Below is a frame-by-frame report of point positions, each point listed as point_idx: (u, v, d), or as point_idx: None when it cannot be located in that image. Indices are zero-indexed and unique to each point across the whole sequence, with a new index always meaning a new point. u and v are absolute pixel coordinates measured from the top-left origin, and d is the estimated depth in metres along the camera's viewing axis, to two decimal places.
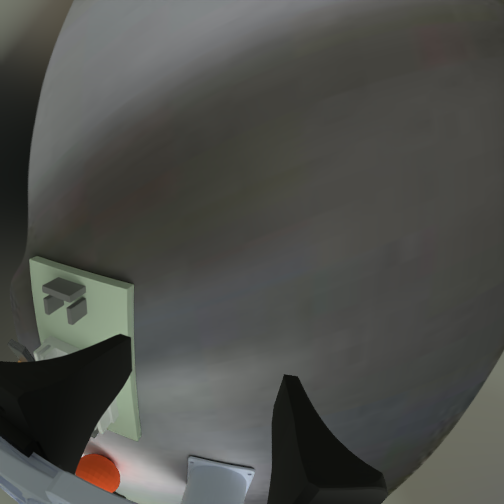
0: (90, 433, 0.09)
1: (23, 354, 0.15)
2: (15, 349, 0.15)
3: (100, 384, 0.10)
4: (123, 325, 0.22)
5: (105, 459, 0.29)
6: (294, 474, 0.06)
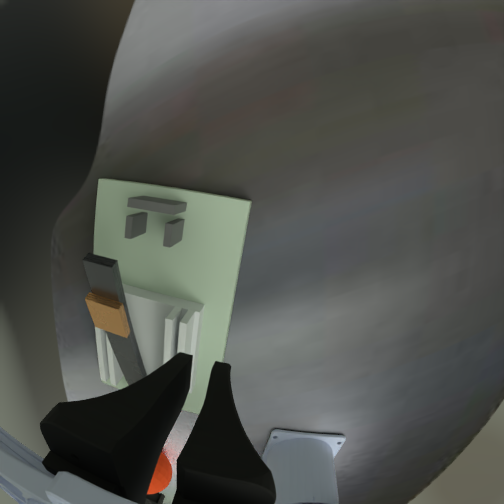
0: (157, 460, 0.08)
1: (112, 271, 0.13)
2: (98, 265, 0.12)
3: (168, 409, 0.09)
4: (235, 250, 0.20)
5: None
6: None
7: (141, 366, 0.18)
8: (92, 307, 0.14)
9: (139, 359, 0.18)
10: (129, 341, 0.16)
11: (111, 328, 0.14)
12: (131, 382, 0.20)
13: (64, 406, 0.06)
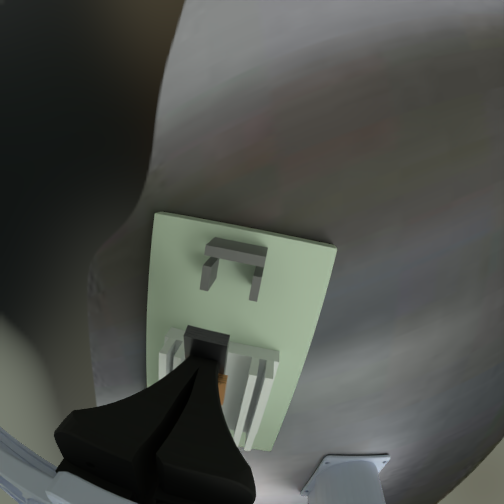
0: None
1: (226, 348, 0.11)
2: (206, 342, 0.11)
3: (181, 413, 0.09)
4: (318, 298, 0.19)
5: None
6: None
7: None
8: None
9: None
10: None
11: None
12: None
13: (79, 413, 0.06)
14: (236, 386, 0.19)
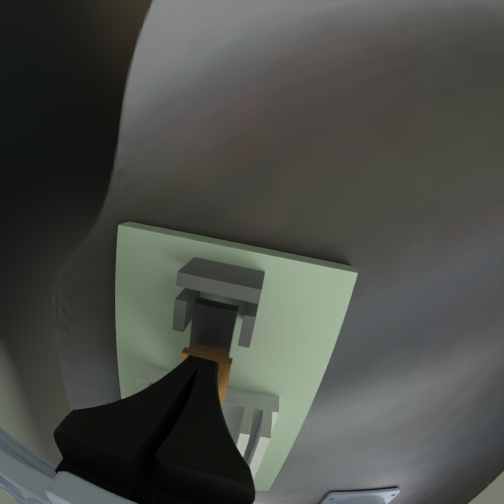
0: None
1: (235, 316, 0.12)
2: (216, 309, 0.12)
3: (181, 412, 0.09)
4: (330, 335, 0.14)
5: None
6: None
7: None
8: None
9: None
10: None
11: None
12: None
13: (79, 413, 0.06)
14: None
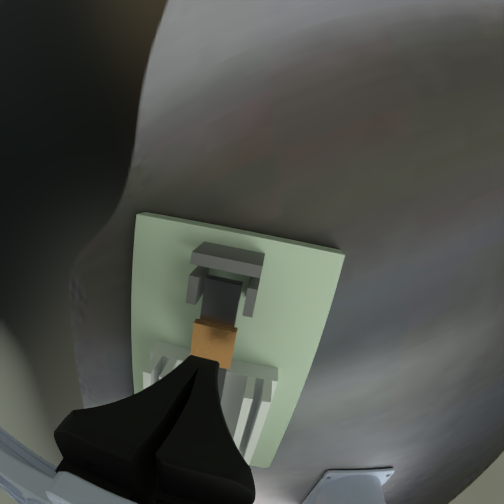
0: None
1: (240, 290, 0.14)
2: (224, 283, 0.14)
3: (181, 413, 0.09)
4: (322, 310, 0.16)
5: None
6: None
7: None
8: (199, 333, 0.14)
9: None
10: (222, 379, 0.15)
11: (213, 359, 0.15)
12: None
13: (79, 413, 0.06)
14: (230, 406, 0.17)
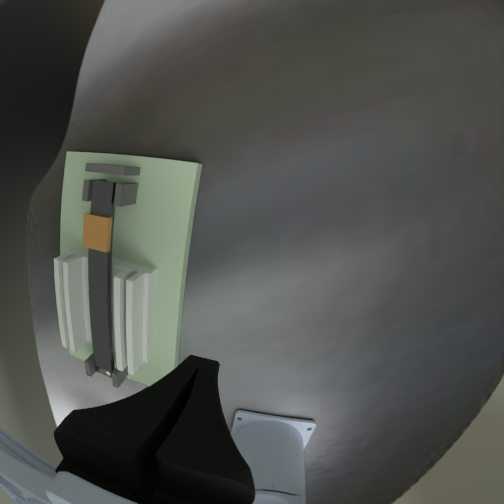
0: None
1: (113, 187, 0.18)
2: (103, 183, 0.18)
3: (181, 412, 0.09)
4: (184, 211, 0.20)
5: None
6: None
7: (109, 307, 0.20)
8: (87, 221, 0.18)
9: (109, 295, 0.20)
10: (105, 266, 0.19)
11: (96, 243, 0.18)
12: (95, 334, 0.21)
13: (79, 413, 0.06)
14: None
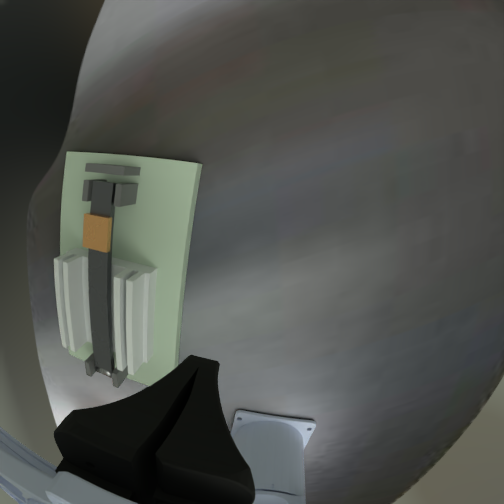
0: None
1: (113, 187, 0.18)
2: (103, 183, 0.18)
3: (181, 412, 0.09)
4: (184, 211, 0.20)
5: None
6: None
7: (109, 307, 0.20)
8: (87, 222, 0.18)
9: (109, 295, 0.20)
10: (105, 266, 0.19)
11: (96, 243, 0.18)
12: (95, 334, 0.21)
13: (79, 413, 0.06)
14: None
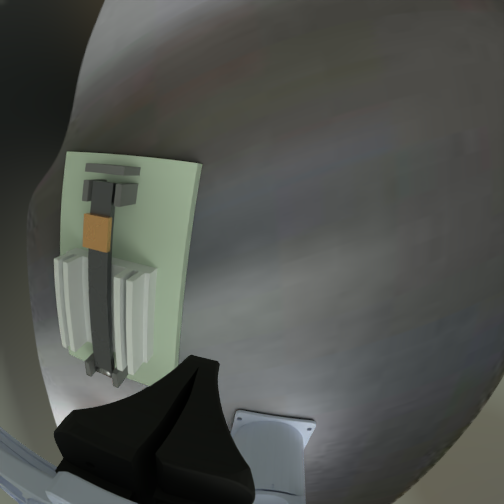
0: None
1: (113, 187, 0.18)
2: (103, 183, 0.18)
3: (181, 412, 0.09)
4: (184, 211, 0.20)
5: None
6: None
7: (109, 307, 0.20)
8: (87, 222, 0.18)
9: (109, 295, 0.20)
10: (105, 266, 0.19)
11: (96, 243, 0.18)
12: (95, 334, 0.21)
13: (79, 413, 0.06)
14: None
